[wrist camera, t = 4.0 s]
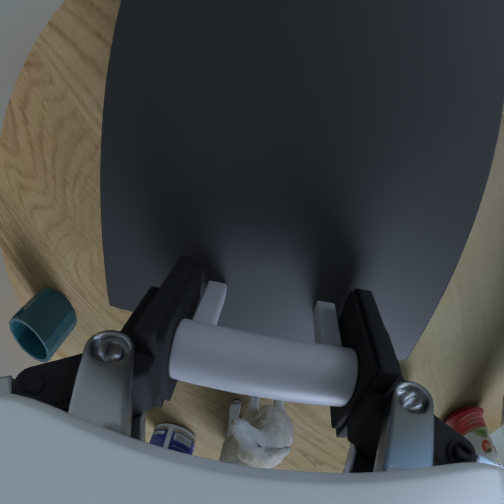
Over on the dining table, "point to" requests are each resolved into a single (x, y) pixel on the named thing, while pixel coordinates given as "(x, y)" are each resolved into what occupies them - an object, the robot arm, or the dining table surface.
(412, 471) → the robot arm
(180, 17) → the chest lid
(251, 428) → the figurine
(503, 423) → the bowl
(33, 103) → the dining table surface
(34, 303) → the creamer cup
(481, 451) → the liquor
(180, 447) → the pill bottle
